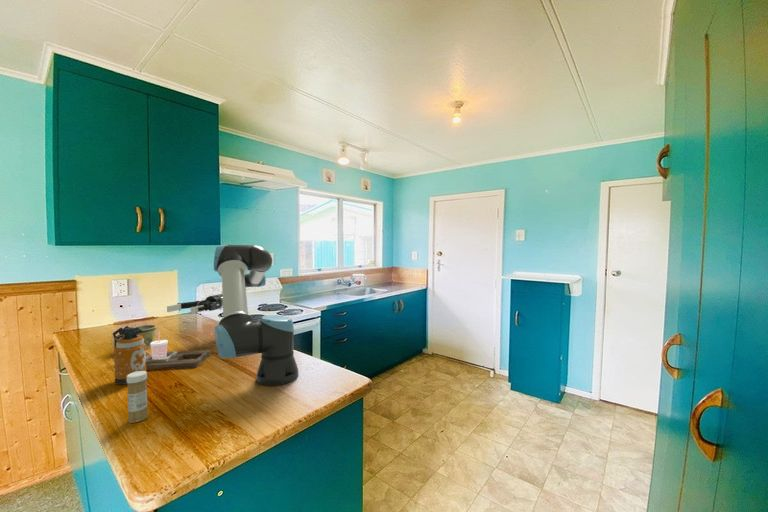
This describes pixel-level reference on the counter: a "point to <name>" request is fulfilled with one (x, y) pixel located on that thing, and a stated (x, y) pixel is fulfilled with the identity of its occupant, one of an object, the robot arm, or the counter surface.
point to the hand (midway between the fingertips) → (179, 310)
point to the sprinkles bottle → (137, 396)
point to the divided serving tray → (177, 360)
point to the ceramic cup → (147, 334)
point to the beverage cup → (159, 348)
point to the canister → (128, 353)
